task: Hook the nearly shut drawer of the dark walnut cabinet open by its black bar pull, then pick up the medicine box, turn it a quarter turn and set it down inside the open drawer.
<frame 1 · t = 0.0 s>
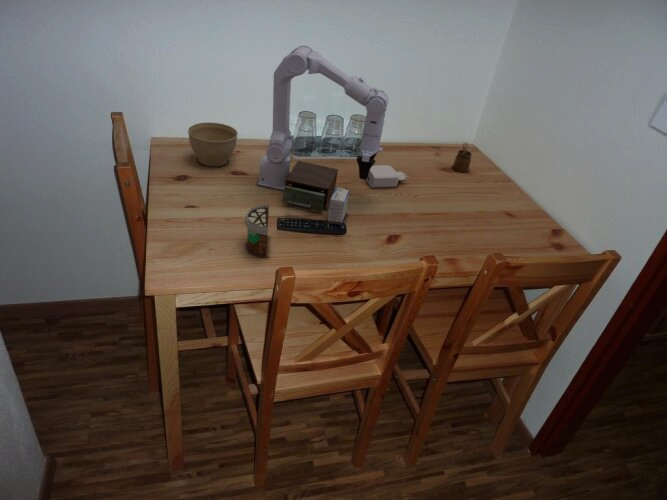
hand: (364, 173, 160), 10 cm above the table, tool pointing down, fingers open, 7 cm apart
cabinet: (310, 195, 165), on the table
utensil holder: (459, 169, 197), on the table
medicine box: (336, 219, 155), on the table
drawer: (306, 194, 158), point 4 cm above the table, slide at 2.0 cm
planter bowl: (213, 161, 176), on the table
charger: (387, 182, 180), on the table
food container: (255, 246, 138), on the table
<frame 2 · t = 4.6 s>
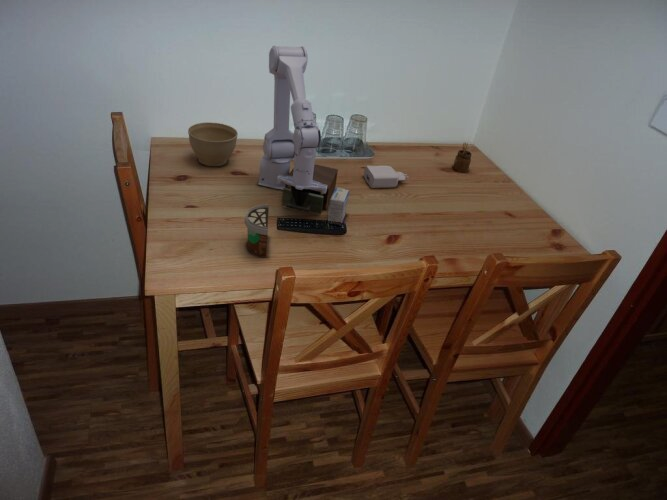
hand: (299, 208, 152), 3 cm above the table, tool pointing down, fingers closed
drawer: (305, 196, 156), point 4 cm above the table, slide at 3.3 cm
everything else where it was.
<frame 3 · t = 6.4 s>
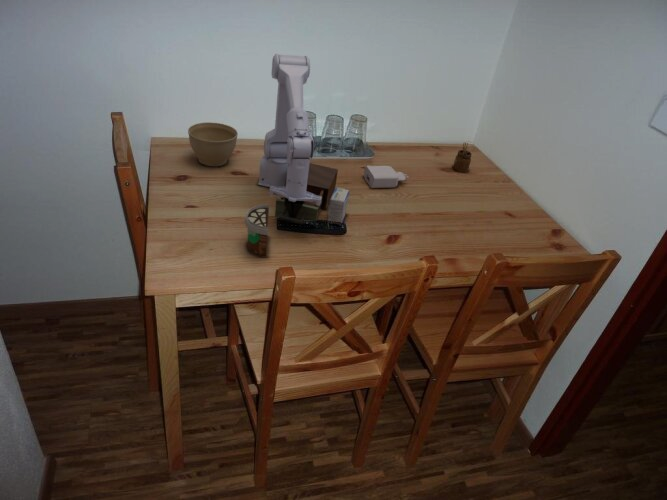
hand: (292, 220, 146), 3 cm above the table, tool pointing down, fingers closed, pressing on drawer
drawer: (299, 206, 151), point 4 cm above the table, slide at 10.5 cm, touching gripper
everything else where it was.
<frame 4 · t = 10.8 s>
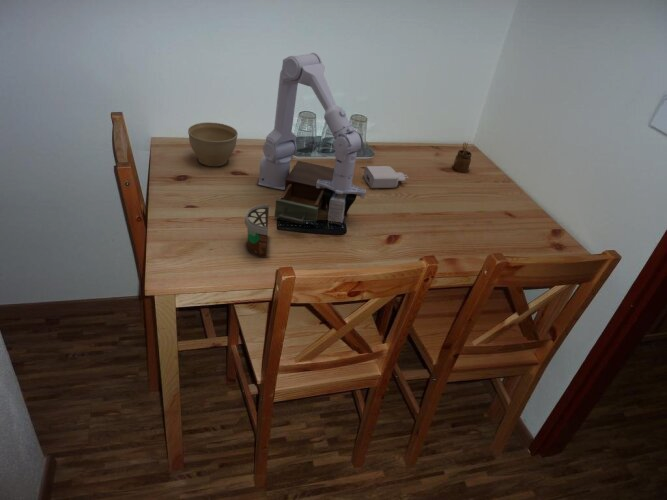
hand: (337, 212, 154), 2 cm above the table, tool pointing down, fingers closed on medicine box, 4 cm apart
medicine box: (336, 219, 155), on the table, touching gripper
drawer: (299, 206, 151), point 4 cm above the table, slide at 10.5 cm
everything else where it was.
when the fingers open (4 cm above the table, at t = 16.8 s): medicine box stays where it is, resting on drawer.
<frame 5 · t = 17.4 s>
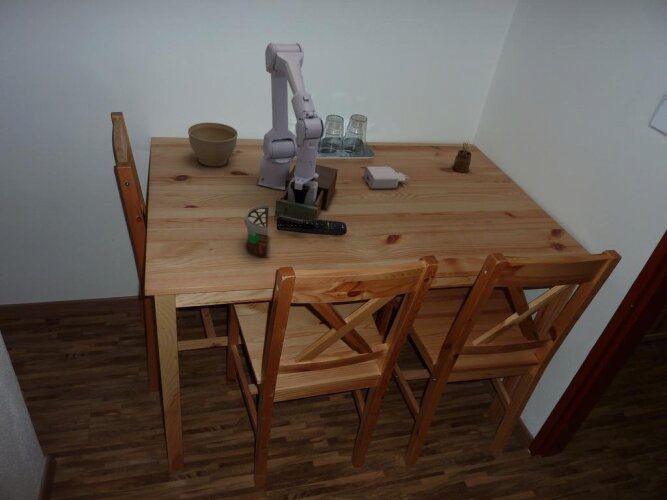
hand: (301, 200, 152), 5 cm above the table, tool pointing down, fingers open, 6 cm apart
medicine box: (301, 208, 154), point 2 cm above the table, touching drawer
drawer: (299, 207, 151), point 4 cm above the table, slide at 10.6 cm, touching medicine box
everything else where it was.
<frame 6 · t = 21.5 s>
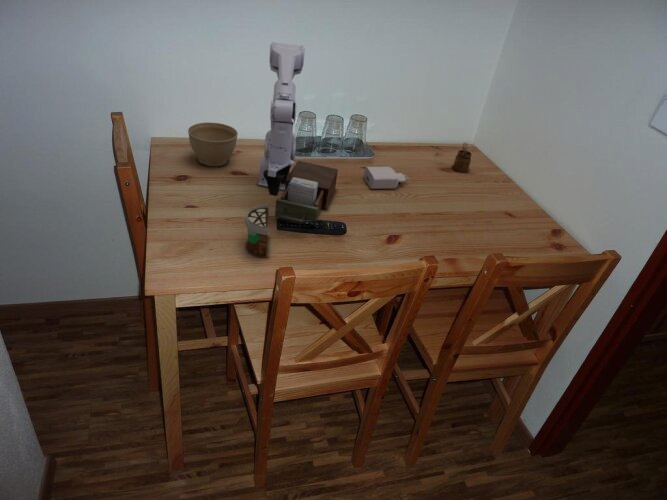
hand: (277, 188, 144), 10 cm above the table, tool pointing down, fingers open, 7 cm apart
at the end: drawer slide at 10.6 cm; medicine box inside the target area in the drawer (1.7 cm from its centre), point 1.8 cm above the cabinet's base; medicine box tilted 0° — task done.
